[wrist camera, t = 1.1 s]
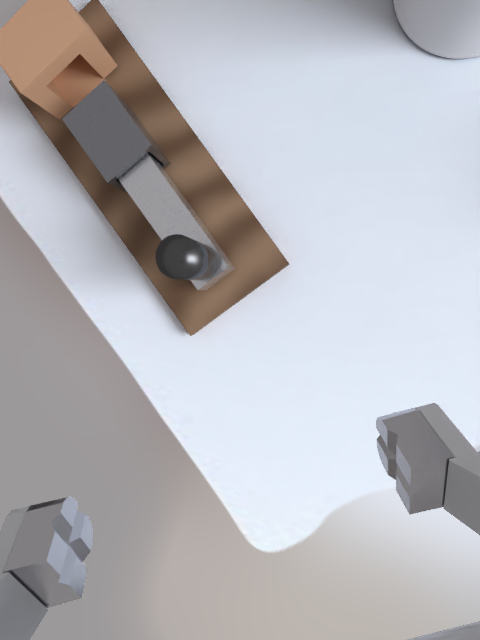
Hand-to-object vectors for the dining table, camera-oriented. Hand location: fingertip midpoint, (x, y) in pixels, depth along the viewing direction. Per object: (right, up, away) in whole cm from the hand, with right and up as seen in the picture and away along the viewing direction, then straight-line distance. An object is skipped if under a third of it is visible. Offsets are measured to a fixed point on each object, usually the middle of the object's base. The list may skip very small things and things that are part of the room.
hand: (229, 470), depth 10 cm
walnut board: (-10, +21, +36) cm, 43 cm away
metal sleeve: (-12, +23, +34) cm, 43 cm away
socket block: (-19, +32, +34) cm, 51 cm away
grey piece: (-8, +17, +33) cm, 38 cm away
